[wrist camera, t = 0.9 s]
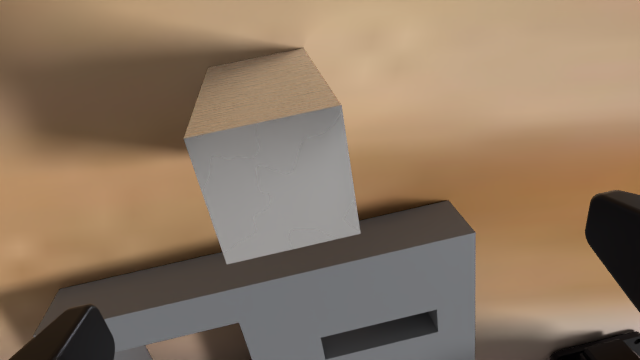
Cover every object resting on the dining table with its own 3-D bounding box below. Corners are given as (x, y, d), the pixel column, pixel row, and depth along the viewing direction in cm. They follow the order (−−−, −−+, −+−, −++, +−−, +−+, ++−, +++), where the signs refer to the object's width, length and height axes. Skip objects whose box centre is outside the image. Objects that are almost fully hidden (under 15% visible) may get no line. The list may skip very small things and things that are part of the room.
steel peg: (319, 136, 20) (360, 233, 13) (233, 154, 20) (226, 264, 13) (303, 47, 18) (341, 104, 11) (208, 67, 18) (183, 138, 11)
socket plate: (452, 335, 27) (474, 375, 25) (133, 414, 26) (121, 465, 23) (448, 200, 22) (475, 232, 20) (59, 289, 21) (32, 335, 19)
